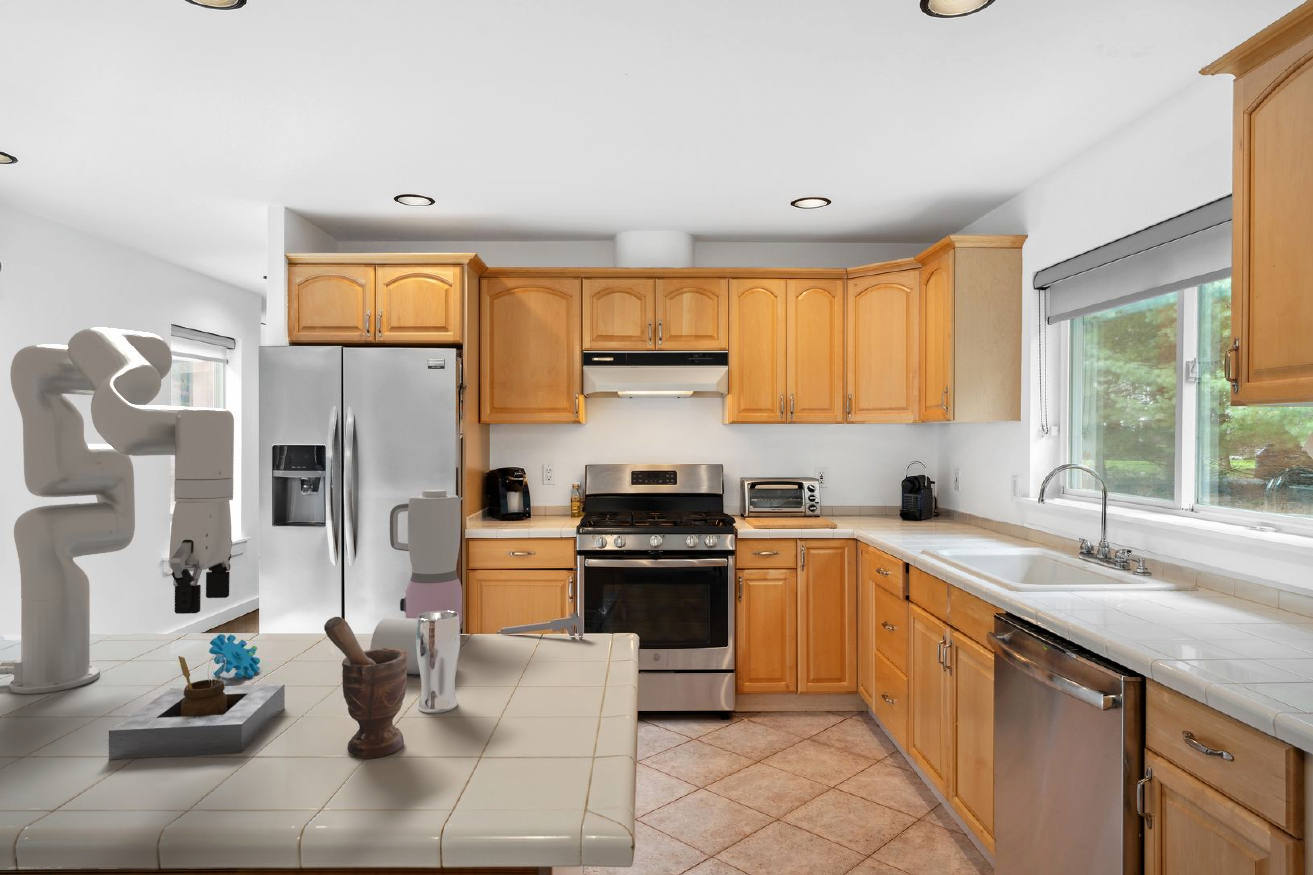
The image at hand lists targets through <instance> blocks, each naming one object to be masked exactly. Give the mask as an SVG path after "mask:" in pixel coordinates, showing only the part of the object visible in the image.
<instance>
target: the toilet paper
mask: <svg viewBox="0 0 1313 875" xmlns="http://www.w3.org/2000/svg"><path fill="white" fill-rule="evenodd" d="M416 630H417V619H412V618H406V617H384V618H382V619H381V620H380V621H379V622H378V623H377V625H376V626H375V628H374V631H373V633H372V637H371V641H370V648H369V650H372V649H383V648H388V649H393V648H394V649H400V650H404V651H405V652H407V653H408V654H407V671H406V673H407V675H417V676H418V675H419V676H420V672H419V666H418V661H417V653H416Z"/></svg>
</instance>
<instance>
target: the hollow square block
mask: <svg viewBox="0 0 1313 875" xmlns="http://www.w3.org/2000/svg"><path fill="white" fill-rule="evenodd" d="M224 686H225V689H224V691H223V692H224V693H225V694H226V697H227V712H226V713H225V714H224V715H208V716H187V717H181V705H182V701H183V700H184V698H185V696H184V689H185V687H178V688H175V687H174V688H170V689H168V690H167V691H165V692H163V694H161V695H159V696H158V697H156V698H155V699H153V700H152V701H150V702H149V703H147V704H145V705H144V706H143V707H141V708H140V709H138V710H137V711H135V712H134V713H133V714H131V715H130V716H128V717H127V718H125V719H124V720H122V721H121V722H119V723H118V724H116V725H114V726H113V727H112V728H110V729H109V730H108V760H109V761H110V760H112V761H113V760H126V759H127V760H129V759H147V758H166V757H183V756H184V757H185V756H204V755H205V756H206V755H207V756H208V755H221V754H222V755H223V754H237V753H238V754H242V753H243V752H244V751H245V750H246V749H247V748H248V747H249V746H250V745H251V744H252V743H253V742H254V740H255V741H256V739H257V738H258V737H259V736H260V734H262V732H263V731H265V729H267V727H268V726H269V725H270V724H271V723H272V722H273V721H274V720H275V719H276V718H277V717H278V716H279V715H280V714H281V712H283V711H284V710H285V704H286V702H285V698H286V697H285V692H286V691H285V690H286V688H285V687H286V686H285V683H274V684H273V683H271V684H270V683H269V684H249V685H244V684H243V685H224Z"/></svg>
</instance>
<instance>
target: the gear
mask: <svg viewBox="0 0 1313 875" xmlns="http://www.w3.org/2000/svg"><path fill="white" fill-rule="evenodd" d="M236 639H237V637H236V636H235V635H233V634H231V633H230V634H229V635H228V636H226V635H225V634H224V633H223V634H222V633H219V634H218V635H217V636H216V637H214V638H212V640H211V641H210V642H209V645H211V647H210V648H209V650H208V652H209V654H210V655H214V656H215V657H214V658H213V662H214V663H215V662H216V664H215V665H222V667H221V666H220V667H218V668H217V669H216V671H215V670H214V671H213V672H214V675H213V676H215V677H216V678H219V677H220V676H221V675H222V674H223V673H226V674H229V673H231V671H232V670H233V669H235V670H237V671H235V672H234V676H235V677H236V678H238V679H241V678H242V677H244V676H245V678H248V679H249V678H250V679H251V678H253V677H254V675H255V674H256V673H258V672H259V671H260V670H261V667H260V666H258V665H259V664H260V662H261V659H260V657H257V656H254V655H255V654H256V651H257V650H258V647H257V646H255V645H252V646H251V648H245V647H246V646H247V645H248V643H247V642H246V641H245V640H244V639H241V640H239V641H238V642H237V643H235V642H234V641H235V640H236ZM216 655H217V656H216ZM218 655H219V656H218ZM220 655H221V657H222V658H221V657H220ZM222 655H223V656H222ZM224 657H225V658H224ZM220 658H221V661H220ZM214 659H215V660H214ZM216 659H217V660H216ZM225 659H226V661H225ZM225 665H226V667H225V668H224V666H225ZM218 670H219V672H218ZM220 670H221V672H220ZM223 671H225V672H223ZM244 671H245V672H244ZM217 674H218V676H217ZM219 675H220V676H219Z"/></svg>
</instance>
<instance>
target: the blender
mask: <svg viewBox="0 0 1313 875" xmlns="http://www.w3.org/2000/svg"><path fill="white" fill-rule="evenodd" d="M463 499H464V497H461V496H458V495H454V494H447V490H446V489H425V490H424V489H423V490H422V492H421V495H413V496H409V498H408V503H401V504H396V505H395V506H393V508H392V509H391V511H390V512H389V513H390V515H389V541H390V546H391V548H393V549H394V550H397V551H403V552H408V553H409V560H410V563H411V576H410V579H409V581H408V584H407V586H405V591H404V592H405V596H404V598H401V599H400V601H399V602H400V603H399V610H400V612H404V613H405V618H412V619H417V616H418V615H420V614H422V613H426V612H431V611H454V612H457V613H459V624H460V630H462V629H463V622H464V621H463V588H462V584H461V581H460V579H459V577H458V574H457V564H458V559H459V552H460V545H461V501H462V500H463ZM404 512H407V542H400V541H399V514H400V513H404Z"/></svg>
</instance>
